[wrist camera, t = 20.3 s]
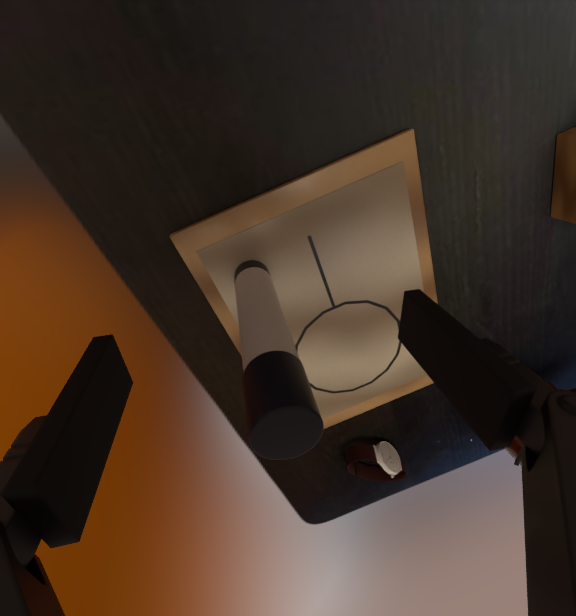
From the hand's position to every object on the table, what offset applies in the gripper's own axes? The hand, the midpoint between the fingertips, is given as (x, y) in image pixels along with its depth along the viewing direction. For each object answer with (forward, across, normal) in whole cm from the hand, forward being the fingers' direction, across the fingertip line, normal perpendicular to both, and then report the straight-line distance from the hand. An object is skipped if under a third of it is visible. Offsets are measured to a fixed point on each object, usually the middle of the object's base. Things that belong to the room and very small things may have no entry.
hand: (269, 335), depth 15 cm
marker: (+8, 0, 0) cm, 8 cm away
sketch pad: (+8, +6, -5) cm, 12 cm away
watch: (+8, +10, -23) cm, 27 cm away
